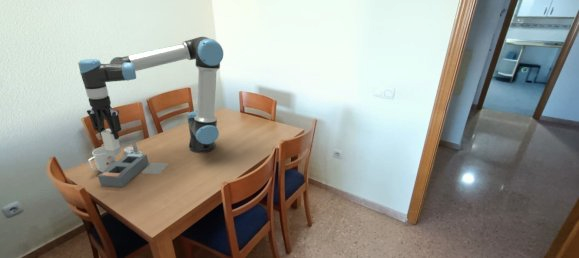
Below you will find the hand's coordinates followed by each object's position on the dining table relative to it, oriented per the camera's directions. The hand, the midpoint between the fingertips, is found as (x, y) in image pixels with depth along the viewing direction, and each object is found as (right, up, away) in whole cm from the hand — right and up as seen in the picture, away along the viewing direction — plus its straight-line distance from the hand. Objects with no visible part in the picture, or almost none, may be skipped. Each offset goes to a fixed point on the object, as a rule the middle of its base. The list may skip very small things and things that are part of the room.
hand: (112, 144), depth 124 cm
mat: (+12, -14, +16) cm, 25 cm away
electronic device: (-7, -8, +30) cm, 32 cm away
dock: (0, -16, +12) cm, 20 cm away
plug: (0, -4, +2) cm, 5 cm away
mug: (-13, -14, +15) cm, 25 cm away
